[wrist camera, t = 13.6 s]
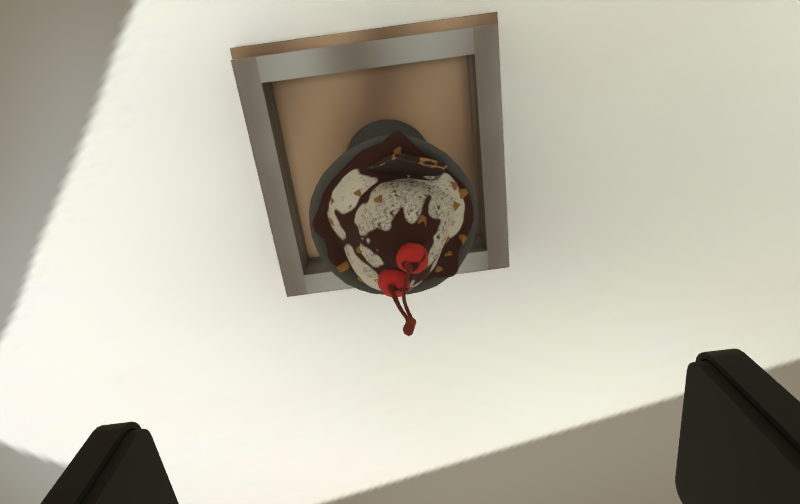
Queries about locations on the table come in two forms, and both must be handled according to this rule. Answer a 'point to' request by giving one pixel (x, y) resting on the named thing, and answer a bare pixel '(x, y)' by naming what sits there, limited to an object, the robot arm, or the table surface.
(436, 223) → the sundae
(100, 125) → the table surface
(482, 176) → the stand
